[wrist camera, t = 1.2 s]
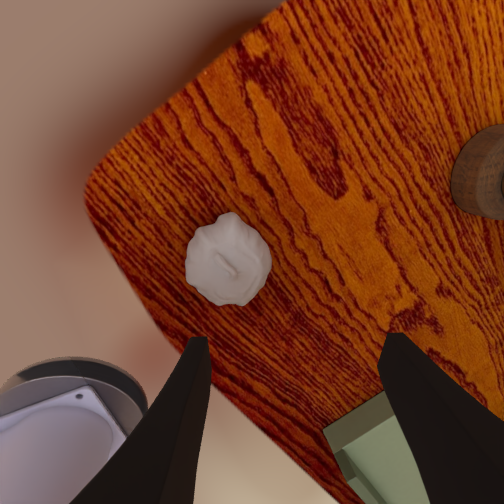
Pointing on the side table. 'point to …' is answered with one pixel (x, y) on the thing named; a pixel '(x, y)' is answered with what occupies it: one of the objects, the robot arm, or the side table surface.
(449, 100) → the side table surface
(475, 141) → the mortar and pestle
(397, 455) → the tray
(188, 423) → the robot arm
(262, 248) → the garlic
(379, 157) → the side table surface
